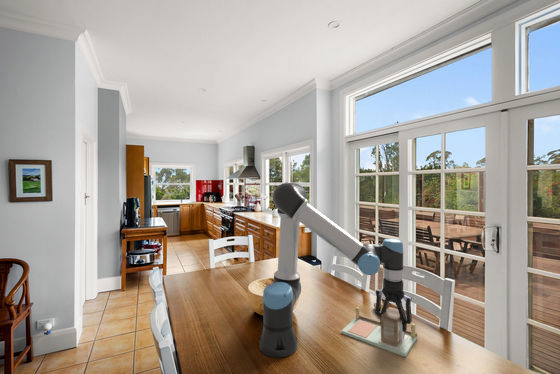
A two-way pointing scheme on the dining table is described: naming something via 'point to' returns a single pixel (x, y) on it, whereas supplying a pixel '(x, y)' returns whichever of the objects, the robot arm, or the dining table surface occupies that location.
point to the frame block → (391, 326)
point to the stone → (375, 306)
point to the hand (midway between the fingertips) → (393, 335)
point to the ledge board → (378, 334)
